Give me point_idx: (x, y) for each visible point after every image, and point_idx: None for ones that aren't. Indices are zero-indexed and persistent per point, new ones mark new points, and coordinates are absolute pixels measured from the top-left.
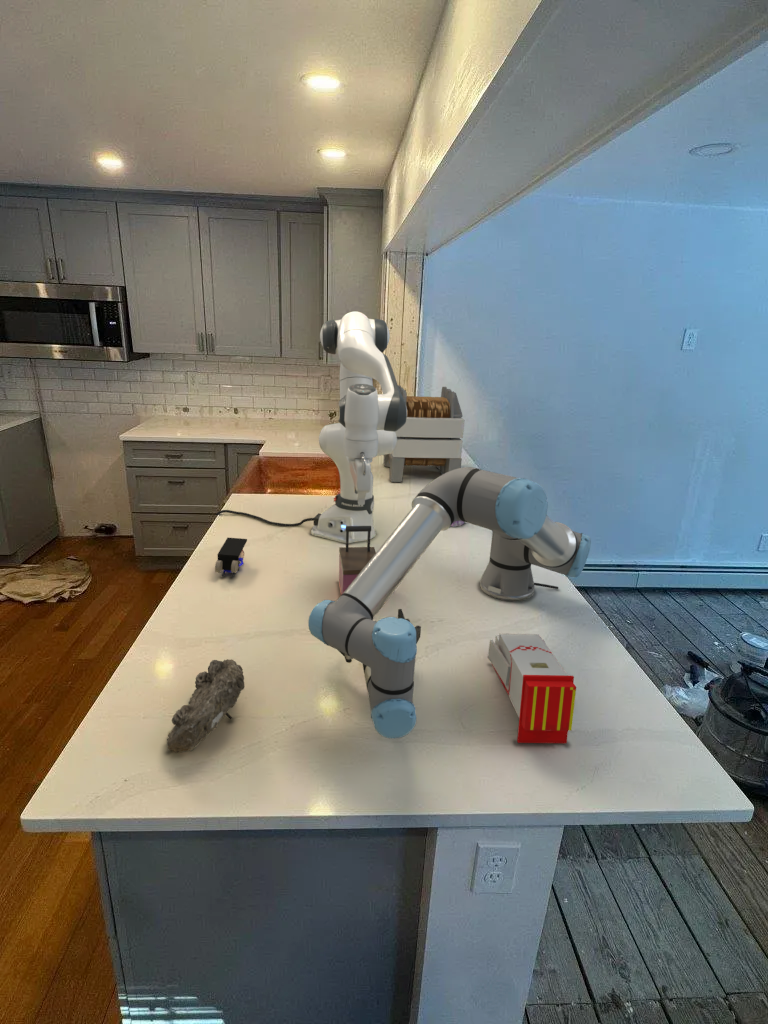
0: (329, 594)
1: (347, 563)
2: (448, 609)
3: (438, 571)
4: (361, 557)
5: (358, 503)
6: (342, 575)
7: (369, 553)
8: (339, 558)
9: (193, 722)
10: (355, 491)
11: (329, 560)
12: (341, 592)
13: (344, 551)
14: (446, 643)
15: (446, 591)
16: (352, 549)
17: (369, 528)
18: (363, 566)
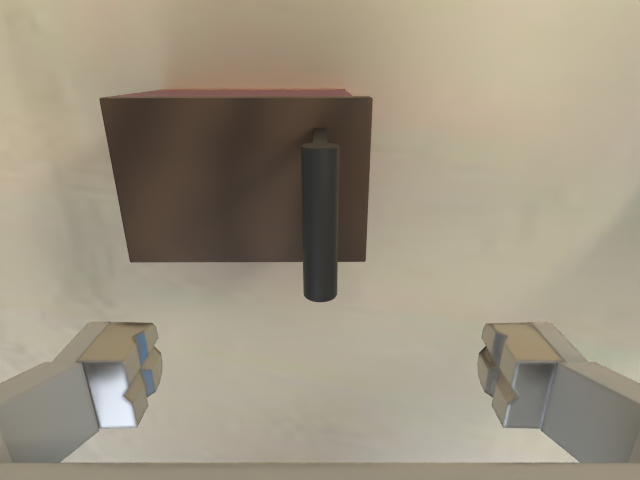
0: (251, 46)
1: (178, 125)
2: (170, 378)
3: (391, 398)
4: (248, 195)
5: (88, 329)
6: (150, 95)
7: (291, 234)
8: (340, 94)
9: None
10: (495, 338)
11: (542, 62)
12: (210, 90)
13: (319, 121)
14: (3, 341)
15: (268, 393)
16: (340, 162)
17: (305, 287)
18: (151, 195)
